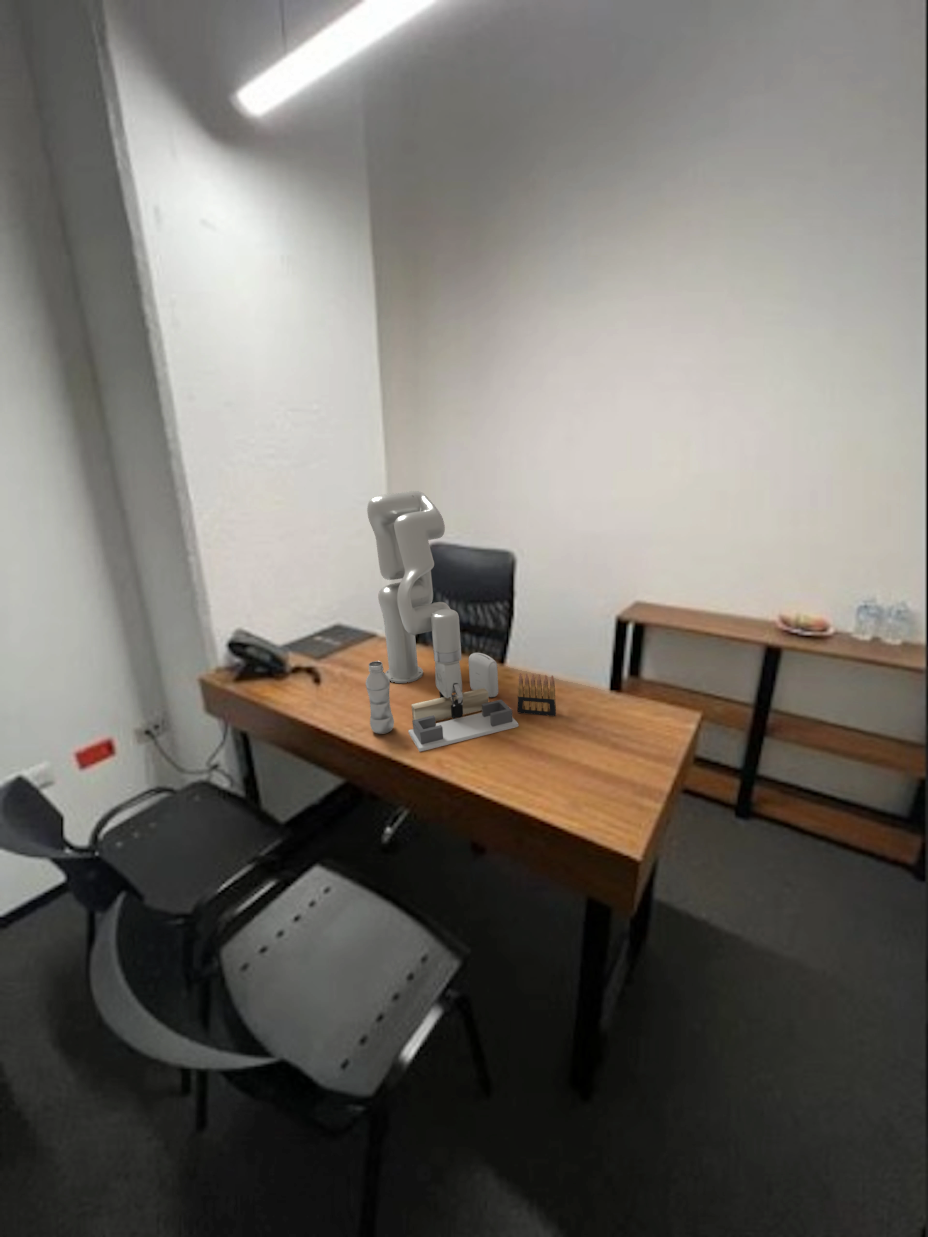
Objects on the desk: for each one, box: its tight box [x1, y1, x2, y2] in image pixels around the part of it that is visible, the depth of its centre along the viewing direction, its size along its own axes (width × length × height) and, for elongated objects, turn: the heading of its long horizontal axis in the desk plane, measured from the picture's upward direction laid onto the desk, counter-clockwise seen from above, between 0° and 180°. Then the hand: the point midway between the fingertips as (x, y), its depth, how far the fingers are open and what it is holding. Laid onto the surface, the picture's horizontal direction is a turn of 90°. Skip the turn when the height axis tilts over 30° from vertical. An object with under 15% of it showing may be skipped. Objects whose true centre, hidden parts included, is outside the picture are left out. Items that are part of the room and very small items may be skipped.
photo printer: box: [467, 652, 499, 698], centre depth 172 cm, size 10×4×12 cm, turn 39°
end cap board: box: [408, 699, 519, 752], centre depth 152 cm, size 10×28×4 cm, turn 111°
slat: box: [410, 688, 490, 722], centre depth 161 cm, size 3×22×6 cm, turn 111°
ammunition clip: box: [517, 672, 557, 717], centre depth 158 cm, size 11×2×12 cm, turn 74°
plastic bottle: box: [365, 660, 395, 735], centre depth 152 cm, size 6×7×20 cm
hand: (451, 710), depth 161 cm, fingers open, 9 cm apart
